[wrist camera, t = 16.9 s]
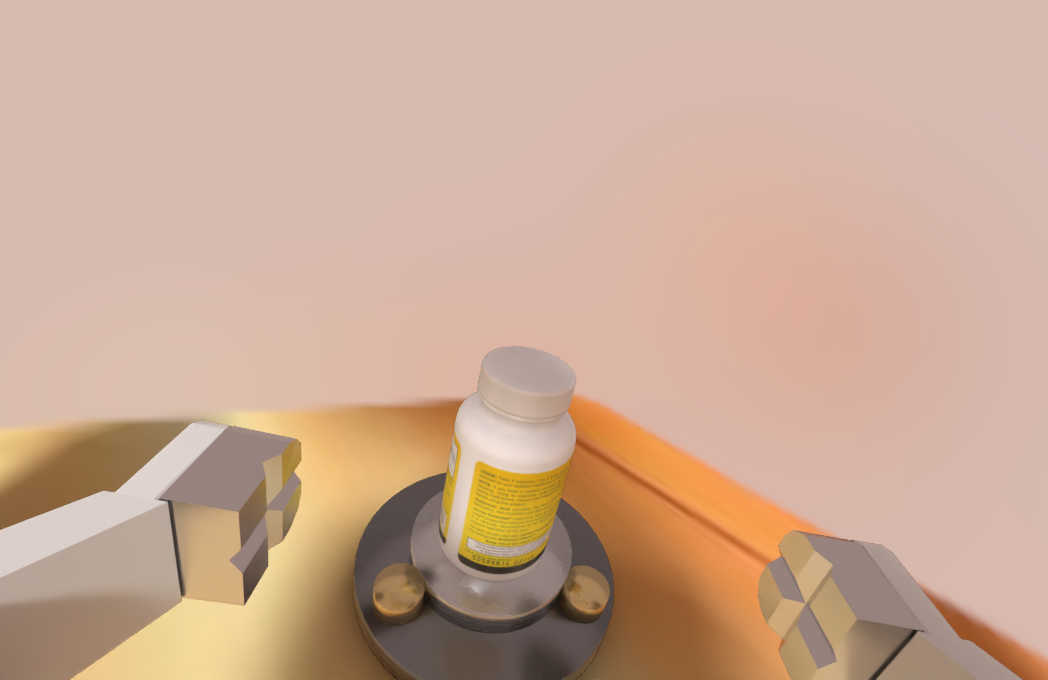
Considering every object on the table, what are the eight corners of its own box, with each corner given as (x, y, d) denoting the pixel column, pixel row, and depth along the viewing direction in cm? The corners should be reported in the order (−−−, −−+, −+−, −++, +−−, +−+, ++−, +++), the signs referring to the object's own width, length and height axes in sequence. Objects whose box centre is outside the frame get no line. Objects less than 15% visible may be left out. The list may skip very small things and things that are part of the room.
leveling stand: (290, 618, 22) (289, 578, 21) (440, 458, 33) (445, 426, 32) (565, 780, 18) (582, 742, 17) (628, 540, 30) (641, 508, 29)
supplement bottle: (566, 551, 25) (620, 385, 21) (481, 608, 21) (525, 421, 17) (498, 484, 28) (532, 330, 24) (415, 524, 24) (437, 350, 20)
